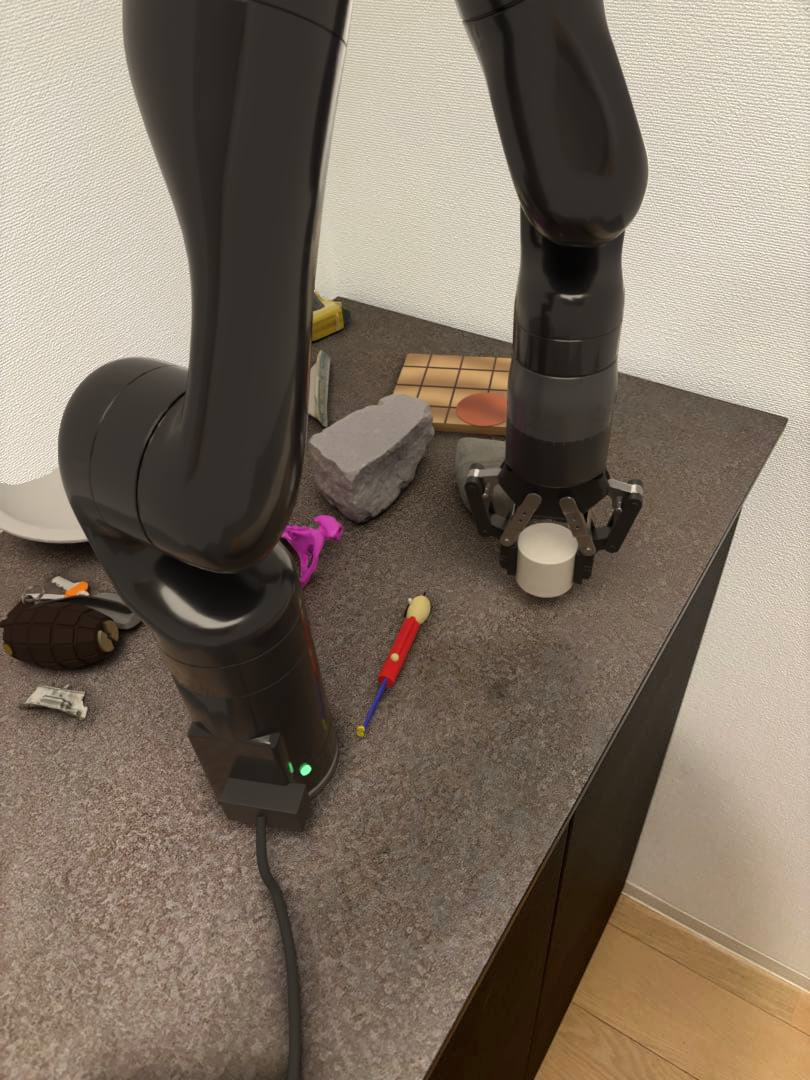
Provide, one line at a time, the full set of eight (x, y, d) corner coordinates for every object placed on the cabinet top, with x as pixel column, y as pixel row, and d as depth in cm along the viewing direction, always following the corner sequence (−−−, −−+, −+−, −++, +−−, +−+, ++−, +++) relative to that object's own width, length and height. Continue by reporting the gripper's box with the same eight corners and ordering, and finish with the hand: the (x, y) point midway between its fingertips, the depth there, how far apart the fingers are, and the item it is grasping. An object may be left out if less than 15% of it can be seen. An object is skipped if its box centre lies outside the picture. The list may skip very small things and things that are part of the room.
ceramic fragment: (327, 429, 90) (322, 400, 87) (282, 432, 90) (276, 403, 87) (334, 365, 100) (330, 338, 98) (293, 368, 100) (288, 340, 98)
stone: (548, 462, 83) (548, 418, 74) (538, 542, 80) (537, 508, 71) (464, 455, 85) (453, 411, 76) (451, 533, 82) (439, 498, 73)
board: (509, 437, 87) (510, 427, 86) (384, 428, 89) (383, 419, 89) (522, 367, 97) (522, 358, 96) (408, 361, 99) (407, 352, 98)
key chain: (121, 623, 68) (127, 636, 69) (151, 598, 71) (156, 611, 71) (19, 594, 73) (25, 606, 74) (50, 571, 76) (55, 583, 77)
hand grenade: (119, 684, 66) (4, 679, 68) (152, 615, 70) (43, 613, 73) (91, 645, 62) (-30, 641, 64) (127, 575, 67) (13, 573, 69)
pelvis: (267, 525, 79) (253, 474, 74) (350, 550, 76) (342, 498, 71) (195, 610, 72) (176, 558, 67) (285, 642, 68) (271, 590, 64)
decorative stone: (301, 518, 80) (391, 537, 76) (287, 464, 75) (383, 481, 72) (360, 435, 89) (443, 448, 86) (351, 383, 85) (438, 394, 81)
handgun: (309, 295, 114) (360, 322, 107) (193, 342, 105) (240, 374, 98) (307, 279, 112) (359, 305, 105) (189, 324, 104) (236, 356, 97)
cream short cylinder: (571, 601, 66) (575, 567, 63) (511, 593, 67) (513, 560, 64) (576, 559, 69) (580, 526, 67) (519, 552, 70) (521, 519, 68)
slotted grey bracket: (6, 701, 63) (23, 667, 65) (21, 713, 65) (37, 680, 66) (74, 710, 62) (89, 675, 63) (87, 721, 64) (101, 688, 65)
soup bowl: (204, 398, 94) (194, 353, 89) (240, 552, 80) (231, 509, 75) (-12, 437, 89) (-35, 391, 84) (-14, 608, 75) (-42, 566, 69)
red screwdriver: (347, 736, 61) (412, 598, 71) (373, 745, 60) (435, 605, 70) (347, 718, 59) (414, 579, 69) (374, 728, 58) (438, 586, 69)
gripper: (450, 428, 55) (454, 594, 67) (664, 447, 52) (629, 617, 64) (469, 371, 60) (470, 534, 72) (664, 385, 57) (632, 553, 69)
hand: (545, 572), depth 68 cm, fingers closed on cream short cylinder, 5 cm apart
